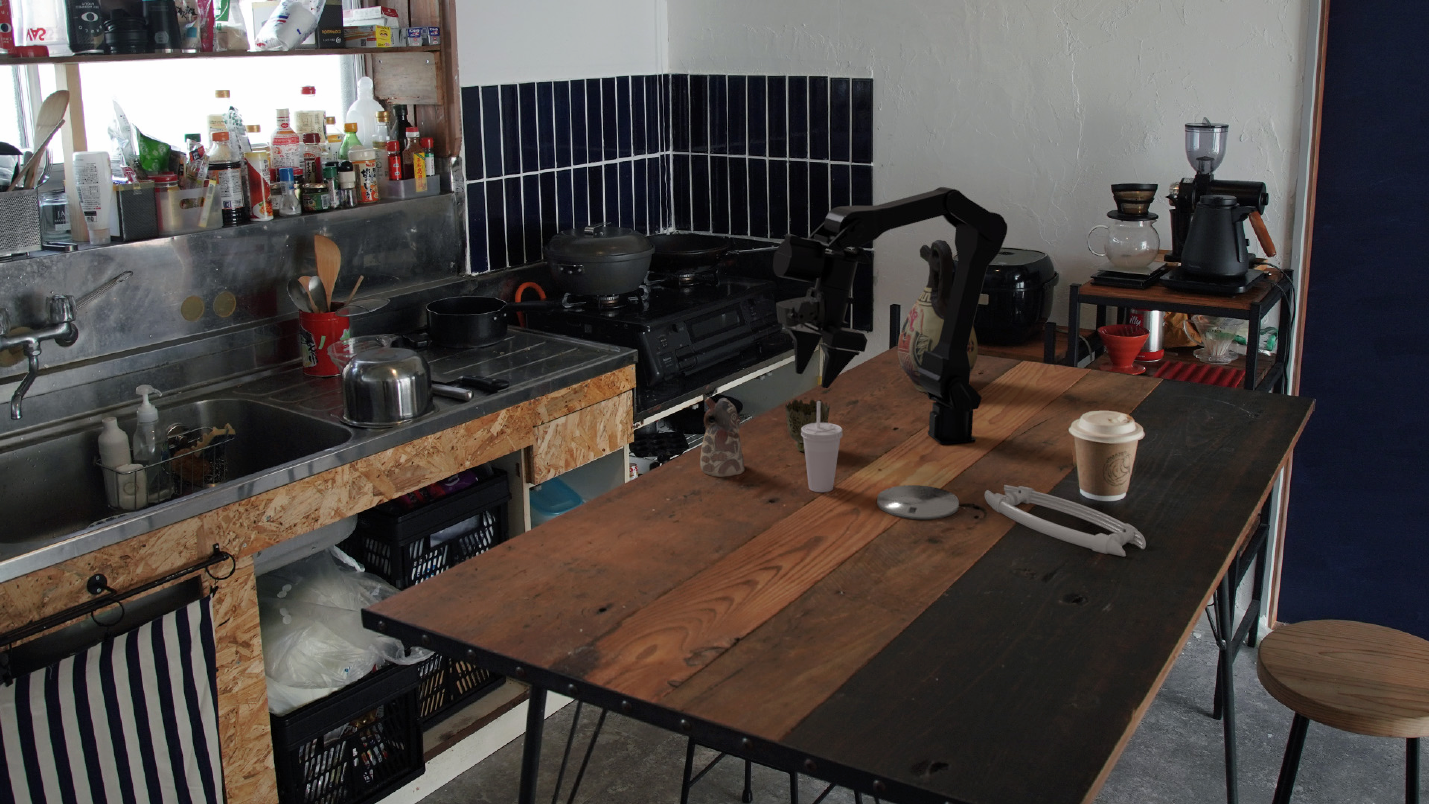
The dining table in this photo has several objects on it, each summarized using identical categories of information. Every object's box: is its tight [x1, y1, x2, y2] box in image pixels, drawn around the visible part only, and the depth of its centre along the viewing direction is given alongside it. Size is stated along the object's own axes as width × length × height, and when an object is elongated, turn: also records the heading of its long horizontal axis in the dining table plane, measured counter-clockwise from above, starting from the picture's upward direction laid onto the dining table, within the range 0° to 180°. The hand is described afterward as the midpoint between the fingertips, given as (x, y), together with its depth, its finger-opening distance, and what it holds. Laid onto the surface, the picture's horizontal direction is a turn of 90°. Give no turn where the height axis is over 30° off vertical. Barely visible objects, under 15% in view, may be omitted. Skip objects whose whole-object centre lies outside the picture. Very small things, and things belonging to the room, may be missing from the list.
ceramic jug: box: [897, 239, 979, 394], centre depth 239 cm, size 17×15×30 cm
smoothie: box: [801, 400, 844, 493], centre depth 190 cm, size 6×6×14 cm
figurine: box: [699, 397, 746, 478], centre depth 199 cm, size 7×7×12 cm
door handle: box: [984, 484, 1147, 558], centre depth 177 cm, size 3×10×25 cm
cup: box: [784, 398, 831, 453], centre depth 208 cm, size 8×7×8 cm
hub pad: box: [876, 484, 960, 521], centre depth 185 cm, size 12×12×1 cm
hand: (811, 380), depth 201 cm, fingers open, 9 cm apart
